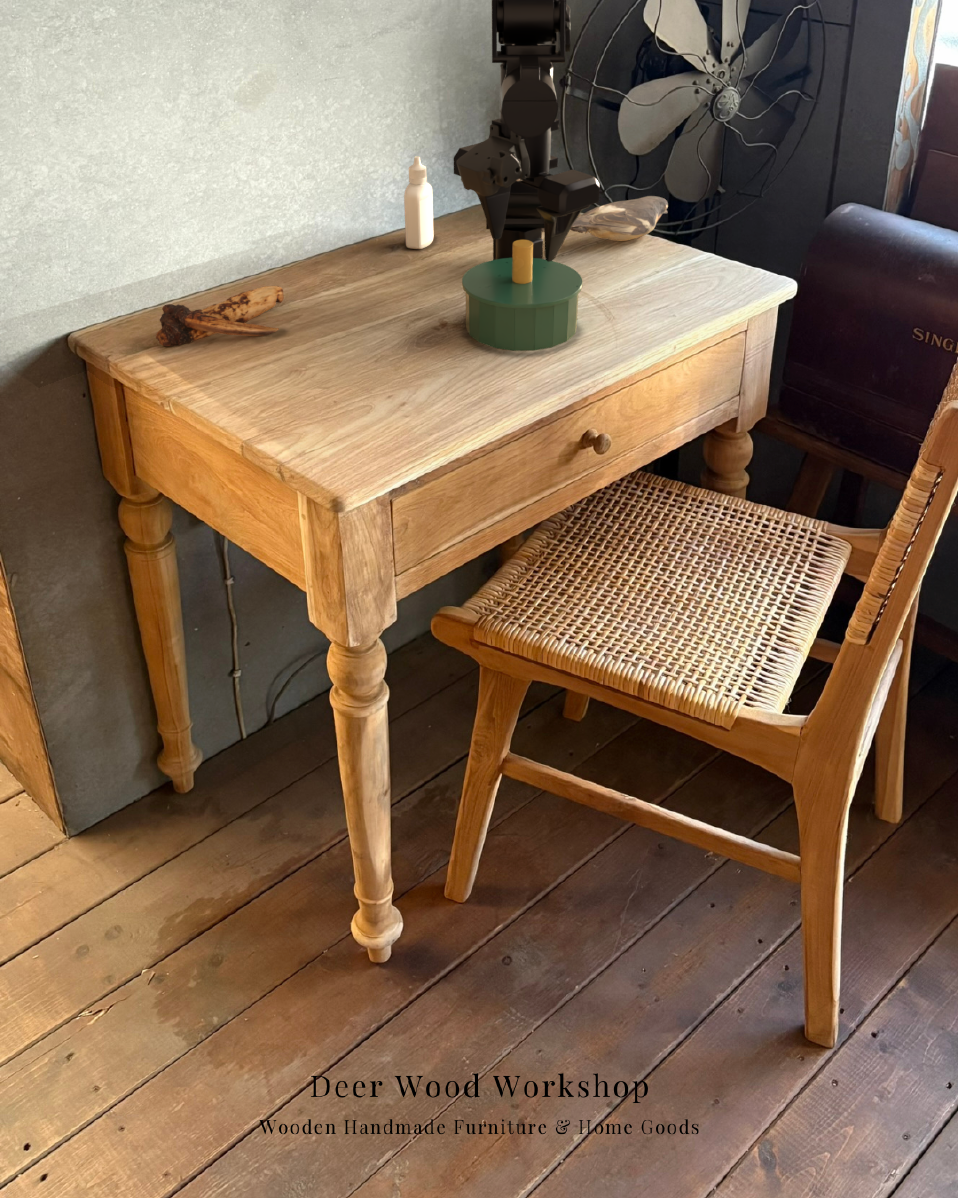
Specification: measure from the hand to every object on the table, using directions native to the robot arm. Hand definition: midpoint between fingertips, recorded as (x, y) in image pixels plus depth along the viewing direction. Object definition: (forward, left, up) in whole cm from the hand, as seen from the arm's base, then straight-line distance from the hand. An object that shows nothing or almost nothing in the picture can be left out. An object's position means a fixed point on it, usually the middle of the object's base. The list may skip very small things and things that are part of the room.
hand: (522, 249), depth 140 cm
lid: (0, 0, -4) cm, 4 cm away
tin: (0, 0, -10) cm, 10 cm away
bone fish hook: (-23, -27, -11) cm, 37 cm away
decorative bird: (-13, +28, -10) cm, 33 cm away
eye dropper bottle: (-31, +9, -11) cm, 34 cm away
